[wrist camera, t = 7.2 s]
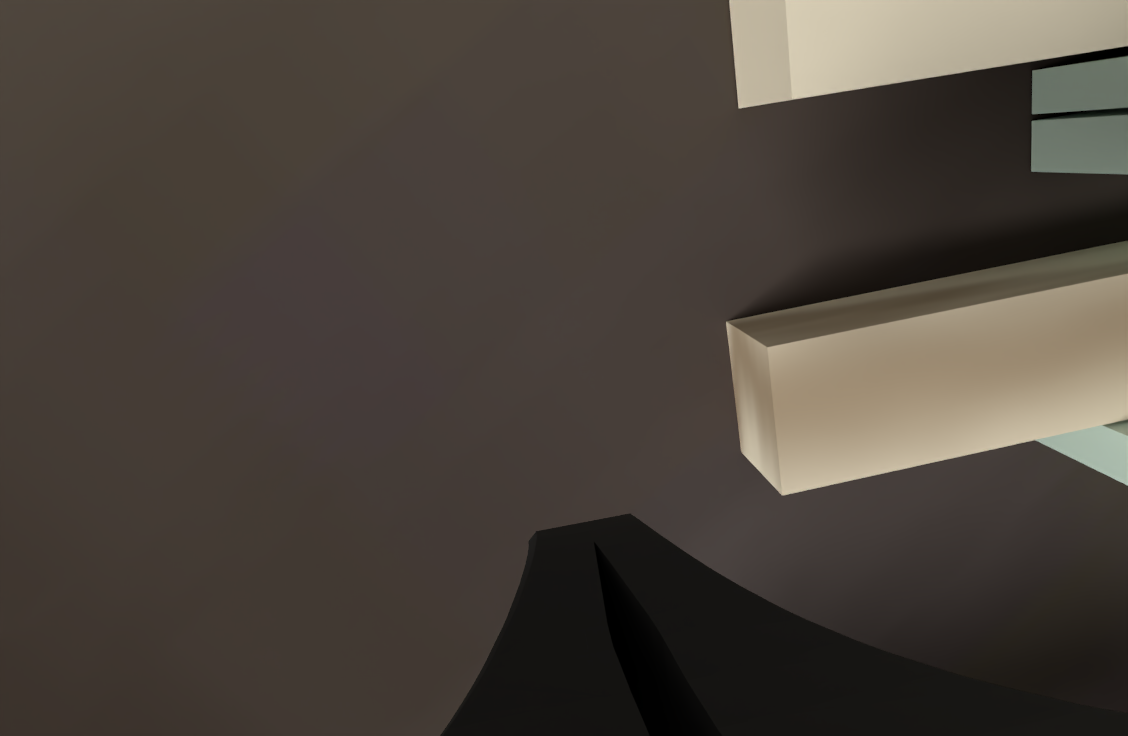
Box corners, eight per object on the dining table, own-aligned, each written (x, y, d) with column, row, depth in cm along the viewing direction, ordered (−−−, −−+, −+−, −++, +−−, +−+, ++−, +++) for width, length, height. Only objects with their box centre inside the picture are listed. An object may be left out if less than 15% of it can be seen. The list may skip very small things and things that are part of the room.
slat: (1158, 357, 21) (1267, 388, 19) (737, 447, 21) (782, 495, 18) (1165, 229, 20) (1280, 242, 18) (721, 318, 20) (767, 347, 17)
